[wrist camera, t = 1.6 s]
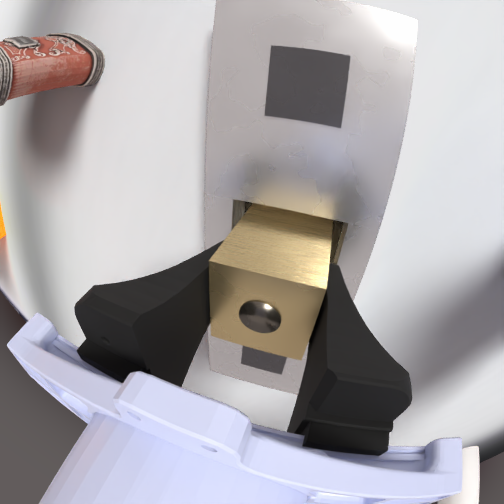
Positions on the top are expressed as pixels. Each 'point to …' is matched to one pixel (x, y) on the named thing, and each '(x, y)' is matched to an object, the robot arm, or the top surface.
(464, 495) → the cylindrical container
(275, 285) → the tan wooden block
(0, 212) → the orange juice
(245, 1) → the rail
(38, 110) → the top surface
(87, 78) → the lighter
